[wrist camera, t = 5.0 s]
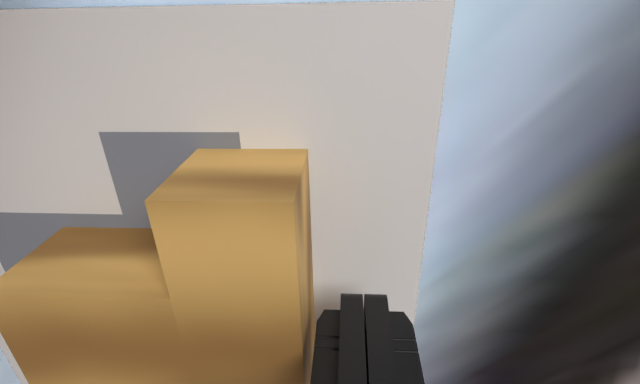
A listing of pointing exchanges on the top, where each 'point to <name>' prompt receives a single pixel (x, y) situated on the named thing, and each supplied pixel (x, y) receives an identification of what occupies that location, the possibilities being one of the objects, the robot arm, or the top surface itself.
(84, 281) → the t block
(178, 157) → the t board
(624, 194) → the top surface
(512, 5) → the top surface
